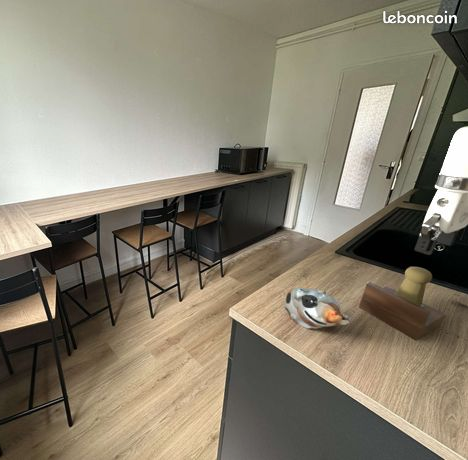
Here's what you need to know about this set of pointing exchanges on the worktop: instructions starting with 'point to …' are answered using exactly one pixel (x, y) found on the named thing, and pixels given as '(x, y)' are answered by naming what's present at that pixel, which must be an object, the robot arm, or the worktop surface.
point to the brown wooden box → (400, 311)
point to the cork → (414, 285)
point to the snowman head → (314, 308)
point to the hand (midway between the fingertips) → (433, 248)
